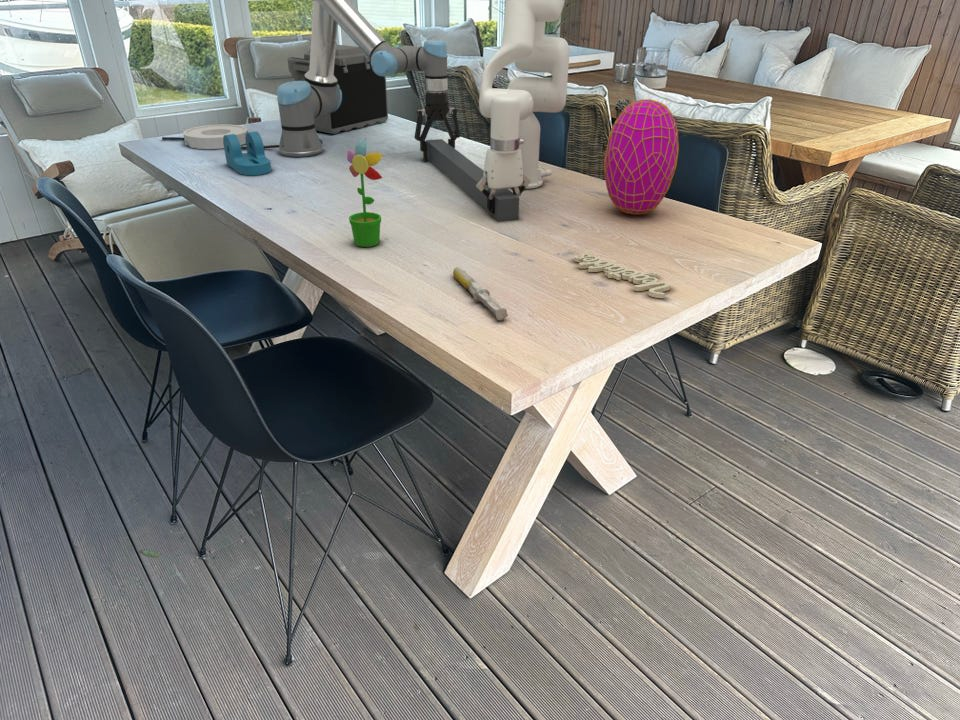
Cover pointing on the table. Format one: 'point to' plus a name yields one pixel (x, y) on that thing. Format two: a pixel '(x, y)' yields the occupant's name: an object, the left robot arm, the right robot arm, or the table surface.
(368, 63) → the electronic device
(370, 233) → the potted flower
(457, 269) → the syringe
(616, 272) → the decorative sign
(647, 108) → the decorative egg
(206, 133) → the ashtray
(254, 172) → the camera mount
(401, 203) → the table surface
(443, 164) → the post
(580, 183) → the table surface
